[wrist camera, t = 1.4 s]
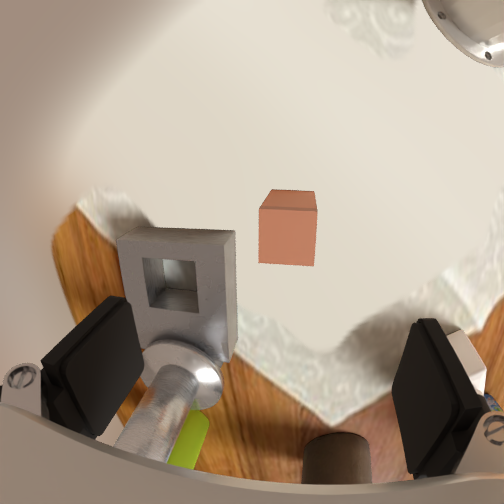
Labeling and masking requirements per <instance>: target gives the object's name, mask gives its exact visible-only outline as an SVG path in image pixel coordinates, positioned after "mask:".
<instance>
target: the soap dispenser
mask: <svg viewBox="0 0 504 504" xmlns="http://www.w3.org/2000/svg"><path fill="white" fill-rule="evenodd" d="M208 428H209V420H208V418H207V417H206V416H205V415H204V414H203V413H202V412H200V411H198V410H190V411H189V413H188V415H187V418H186V420H185V422H184V424H183V427H182V429H181V431H180V434H179V436H178V438H177V441H176V443H175V445H174V447H173V450H172V452H171V454H170V457H169V459H168V461H167V464H171V465H175V466H179V467H183V468H188V469H192V470H193V469H194V466H195V464H196V461H197V458H198V455H199V453H200V450H201V447H202V444H203V442H204V439H205V436H206V433H207V430H208Z"/></svg>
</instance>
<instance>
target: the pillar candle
mask: <svg viewBox="0 0 504 504" xmlns="http://www.w3.org/2000/svg"><path fill="white" fill-rule="evenodd" d="M301 484H311V485H352V484H372V472H371V456H370V449H369V444H368V442H367V440H366V439H364V438H363V437H360V436H358V435H354V434H350V433H336V434H335V433H334V434H329V435H325V436H322V437H318V438H316V439H314V440H312V441H311V442H310V443H309V444H307V446H306V447H305V449H304V459H303V470H302V482H301Z"/></svg>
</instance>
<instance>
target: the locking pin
mask: <svg viewBox="0 0 504 504" xmlns="http://www.w3.org/2000/svg"><path fill="white" fill-rule="evenodd" d="M316 226H317V206H316V200H315V193H314V191H297V190H273V189H272V190H271V191H270V193H269V194H268V196H267V197H266V199H265V200H264V202H263V203H262V205H261V206H260V208H259V263H269V264H285V265H302V266H314V256H315V243H316V228H317V227H316Z"/></svg>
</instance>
